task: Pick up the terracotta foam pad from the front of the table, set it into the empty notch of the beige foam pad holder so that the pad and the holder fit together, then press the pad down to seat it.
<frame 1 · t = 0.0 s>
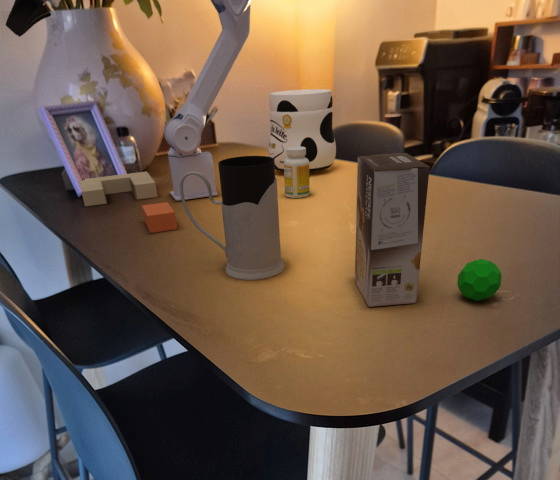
hand: (12, 31, 92), 32 cm above the table, tool tilted 50°, fingers open, 7 cm apart
coffee box: (383, 292, 67), on the table
polyhedron: (475, 299, 64), on the table
glass holder: (237, 269, 77), on the table
milk container: (302, 171, 134), on the table
supplement bottle: (297, 196, 112), on the table
pad holder: (119, 195, 121), on the table
terracotta pad: (160, 225, 97), on the table
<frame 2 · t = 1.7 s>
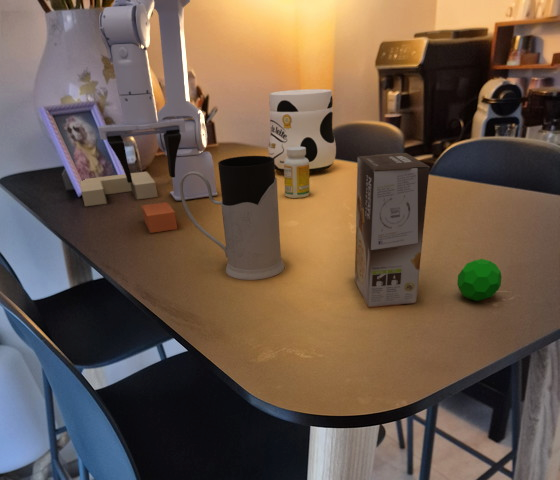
hand: (151, 178, 93), 9 cm above the table, tool pointing down, fingers open, 7 cm apart
nothing on the table moved.
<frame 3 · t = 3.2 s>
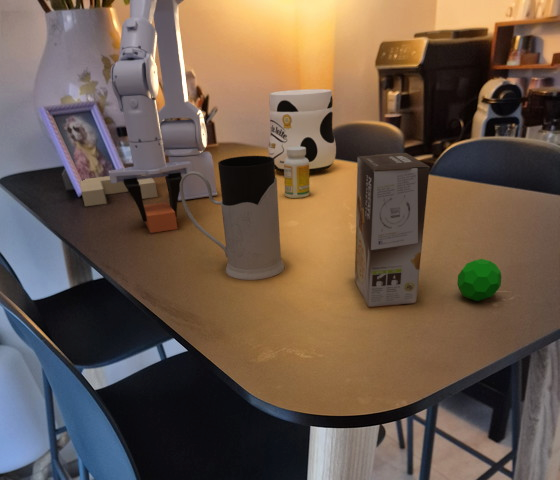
hand: (159, 218, 97), 1 cm above the table, tool pointing down, fingers closed on terracotta pad, 5 cm apart
terracotta pad: (160, 225, 97), on the table, touching gripper
everything else where it was.
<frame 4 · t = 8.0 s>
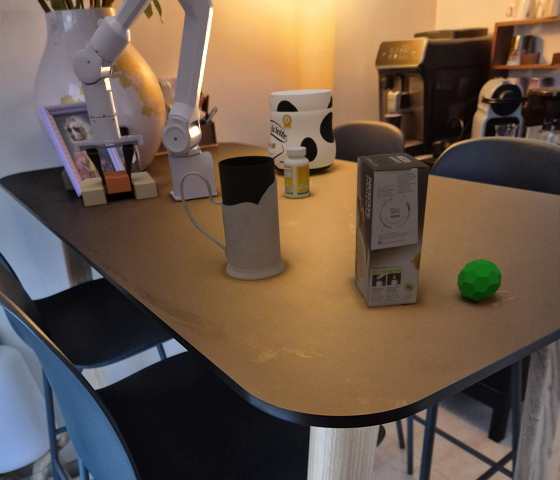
hand: (117, 182, 117), 3 cm above the table, tool pointing down, fingers closed on terracotta pad, 5 cm apart
terracotta pad: (118, 188, 118), point 2 cm above the table, touching gripper
everything else where it was.
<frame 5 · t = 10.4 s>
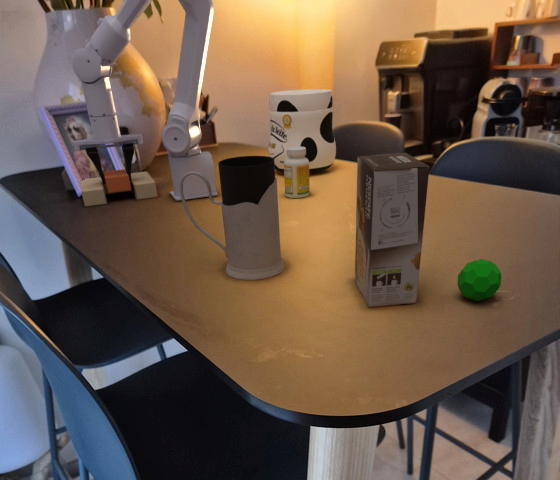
hand: (116, 181, 117), 3 cm above the table, tool pointing down, fingers closed on terracotta pad, 5 cm apart
terracotta pad: (118, 188, 118), point 2 cm above the table, touching gripper
everything else where it was.
when the fingers open (4 cm above the table, at t = 12.7 s): terracotta pad drops 2 cm, resting in pad holder.
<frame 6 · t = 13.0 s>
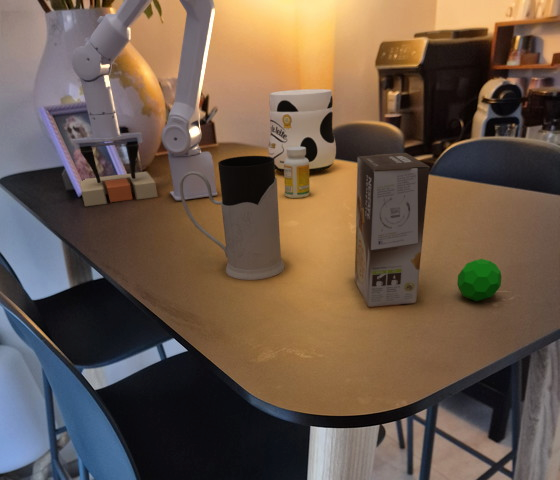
hand: (116, 180, 117), 4 cm above the table, tool pointing down, fingers open, 7 cm apart
terracotta pad: (120, 197, 119), resting in pad holder
everything else where it was.
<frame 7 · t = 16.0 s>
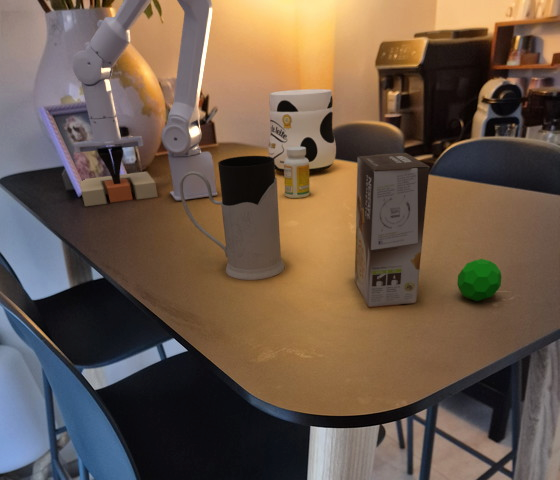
hand: (116, 183, 117), 3 cm above the table, tool pointing down, fingers closed, pressing on terracotta pad
terracotta pad: (120, 197, 119), resting in pad holder, touching gripper
everything else where it was.
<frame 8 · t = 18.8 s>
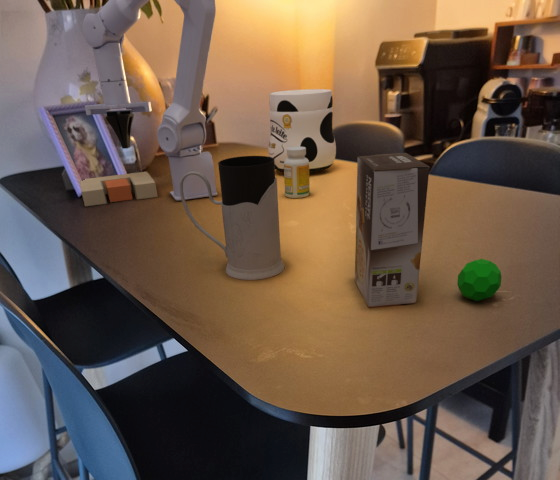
hand: (126, 147, 120), 9 cm above the table, tool pointing down, fingers closed
terracotta pad: (120, 197, 119), resting in pad holder
everything else where it was.
at the end: terracotta pad 0.2 cm from the target spot on the pad holder, point 0.0 cm above the pad holder's base; terracotta pad tilted 0°; the gripper is holding nothing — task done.
